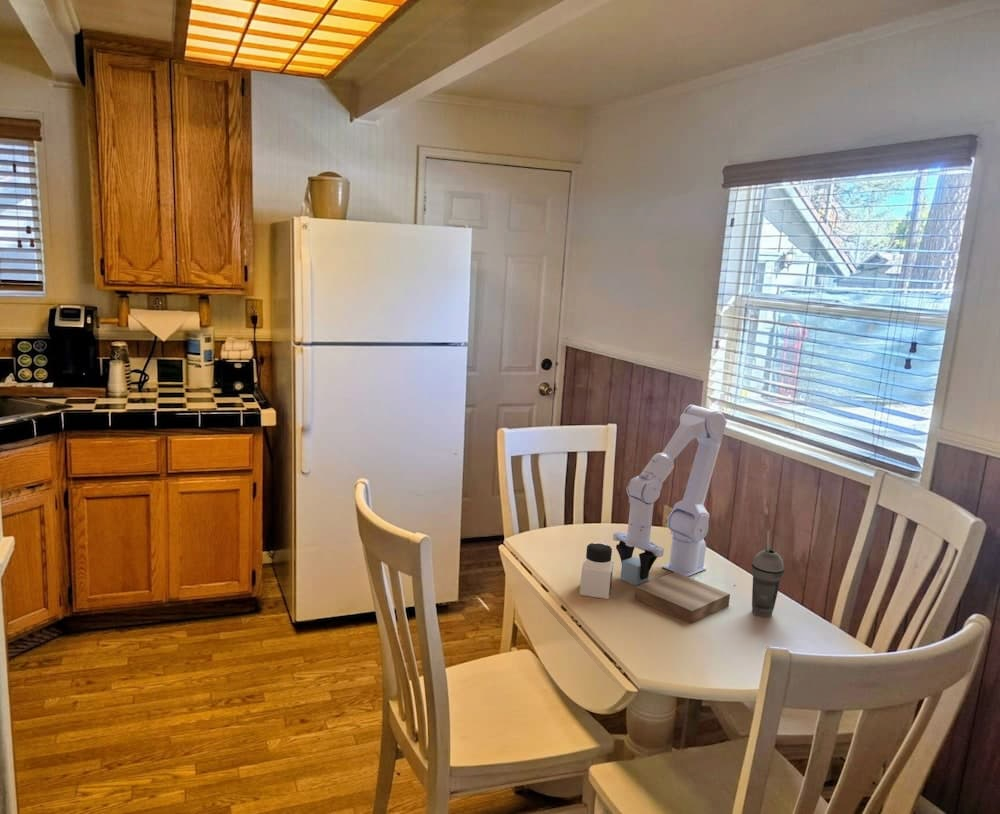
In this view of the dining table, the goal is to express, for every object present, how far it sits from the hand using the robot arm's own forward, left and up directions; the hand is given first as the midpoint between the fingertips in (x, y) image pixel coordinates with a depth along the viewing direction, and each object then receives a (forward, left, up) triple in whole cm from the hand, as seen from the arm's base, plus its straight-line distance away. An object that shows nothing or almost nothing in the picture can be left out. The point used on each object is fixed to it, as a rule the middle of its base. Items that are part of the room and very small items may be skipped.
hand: (634, 574), depth 194 cm
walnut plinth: (+1, +15, -1) cm, 15 cm away
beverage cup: (-10, +30, -2) cm, 32 cm away
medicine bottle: (+14, -1, -2) cm, 14 cm away
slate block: (0, 0, -1) cm, 1 cm away
